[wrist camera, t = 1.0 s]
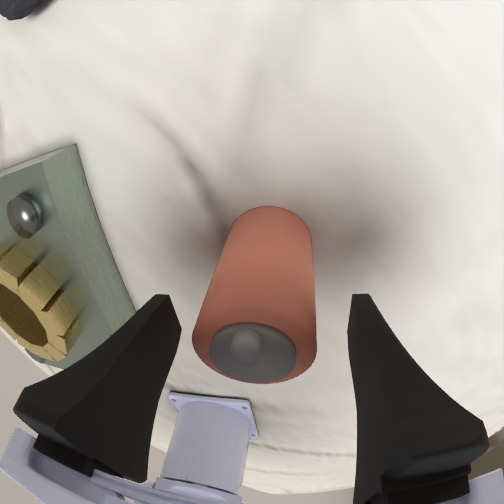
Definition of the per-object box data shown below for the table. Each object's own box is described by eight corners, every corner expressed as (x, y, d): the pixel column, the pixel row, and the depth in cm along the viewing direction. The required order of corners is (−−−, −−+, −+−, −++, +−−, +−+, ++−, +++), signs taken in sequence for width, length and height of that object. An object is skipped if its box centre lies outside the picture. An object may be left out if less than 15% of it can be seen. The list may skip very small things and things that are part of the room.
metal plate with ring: (160, 360, 24) (140, 409, 20) (49, 340, 26) (27, 375, 22) (75, 143, 14) (13, 177, 10) (-29, 184, 16) (-69, 213, 12)
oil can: (311, 276, 17) (313, 410, 10) (234, 278, 18) (200, 404, 11) (310, 204, 15) (320, 336, 8) (222, 208, 15) (165, 331, 8)
